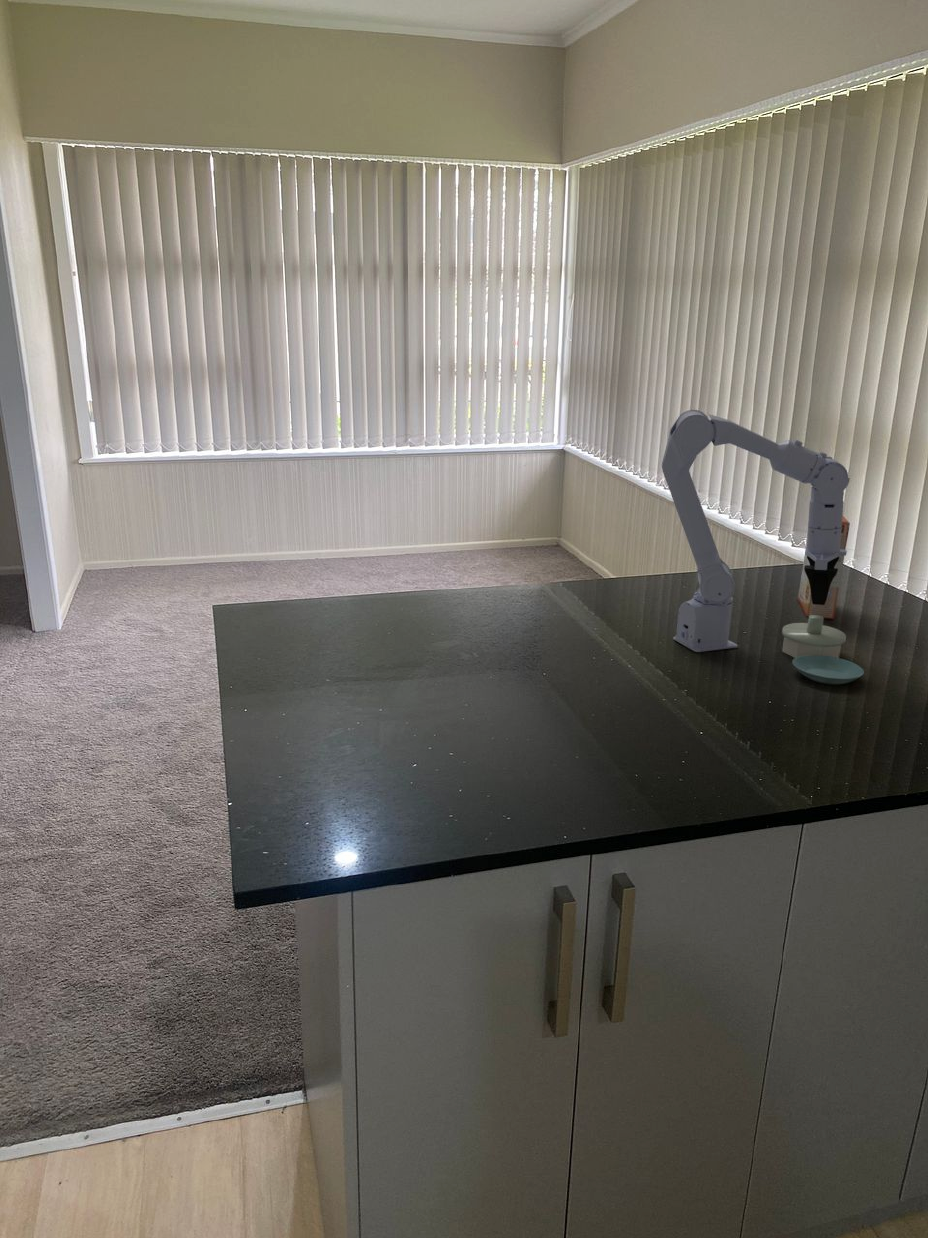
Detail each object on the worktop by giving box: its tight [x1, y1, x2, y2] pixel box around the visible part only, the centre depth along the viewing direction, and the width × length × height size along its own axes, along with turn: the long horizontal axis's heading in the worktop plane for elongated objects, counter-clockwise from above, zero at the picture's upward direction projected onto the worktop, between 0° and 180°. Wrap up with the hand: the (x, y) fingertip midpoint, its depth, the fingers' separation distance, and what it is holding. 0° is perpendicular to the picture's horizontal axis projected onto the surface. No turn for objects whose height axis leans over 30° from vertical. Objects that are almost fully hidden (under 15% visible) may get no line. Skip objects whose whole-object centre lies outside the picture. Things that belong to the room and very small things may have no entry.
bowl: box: [781, 636, 842, 659], centre depth 177 cm, size 10×10×3 cm
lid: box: [781, 615, 847, 647], centre depth 176 cm, size 11×11×4 cm
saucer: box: [792, 655, 865, 686], centre depth 165 cm, size 12×12×2 cm
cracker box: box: [797, 516, 851, 620], centre depth 200 cm, size 14×6×21 cm, turn 168°
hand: (819, 598), depth 174 cm, fingers open, 7 cm apart
